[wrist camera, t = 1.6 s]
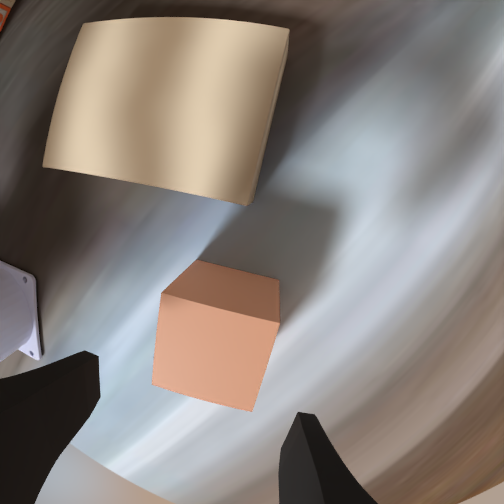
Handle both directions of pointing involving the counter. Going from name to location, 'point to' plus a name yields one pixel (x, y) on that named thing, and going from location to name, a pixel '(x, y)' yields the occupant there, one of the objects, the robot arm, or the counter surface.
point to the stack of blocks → (5, 10)
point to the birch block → (170, 103)
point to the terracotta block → (216, 334)
